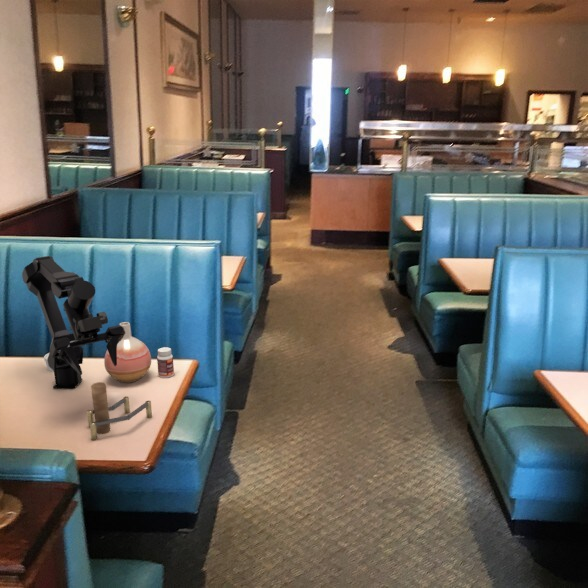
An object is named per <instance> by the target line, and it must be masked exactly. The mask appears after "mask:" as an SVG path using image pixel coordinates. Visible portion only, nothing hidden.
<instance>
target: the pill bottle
mask: <svg viewBox="0 0 588 588" xmlns="http://www.w3.org/2000/svg"><path fill="white" fill-rule="evenodd" d="M156 363H157V375H158V377H159V378H162V379H168V378H171V377H173V376H174V375H175V370H174V369H175V368H174V356H173V354H172V348H170V347H167V346H166V347H165V346H163V347H161V348H158V349H157V357H156Z"/></svg>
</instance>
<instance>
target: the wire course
mask: <svg viewBox="0 0 588 588" xmlns="http://www.w3.org/2000/svg"><path fill="white" fill-rule="evenodd" d="M122 405H123V407H124V408H123V410H124V414H126V415H124V416H118V417H113V418H109V419H107V420H102V421H96V422H95V417H94V409H87V411H86V413H87V414H86V415H87V420H88V421H87V424H88V428H90V430H89V431H90V437H91V438H90V439H91V441H97V440H98V439H97V438H98V433H97V430H96V426H99V425H104V424H109V423H110V424H113V423H114V424H115V423H120V422H124V421H129V420H131V419H132V418H134V417H135V416H136V415H137V414H139V413H140V412H142V411H144V410H145V414H146V418H147V419H151V418H152V417H153V412H152V401H151V400H146V401H145V402H143V404H141V405H140V406H139V407H137V408H136V409H134V410H133V411H132V412H131V407H130V406H131V405H130V397H129V396H128V395H127V396H124V397H123V398H121V399H120V400H118V402H115V403H114V404H112V406H108V410H109V412H111V411H114V410H116V409H117V408H119V407H120V406H122ZM96 439H97V440H96Z"/></svg>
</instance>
